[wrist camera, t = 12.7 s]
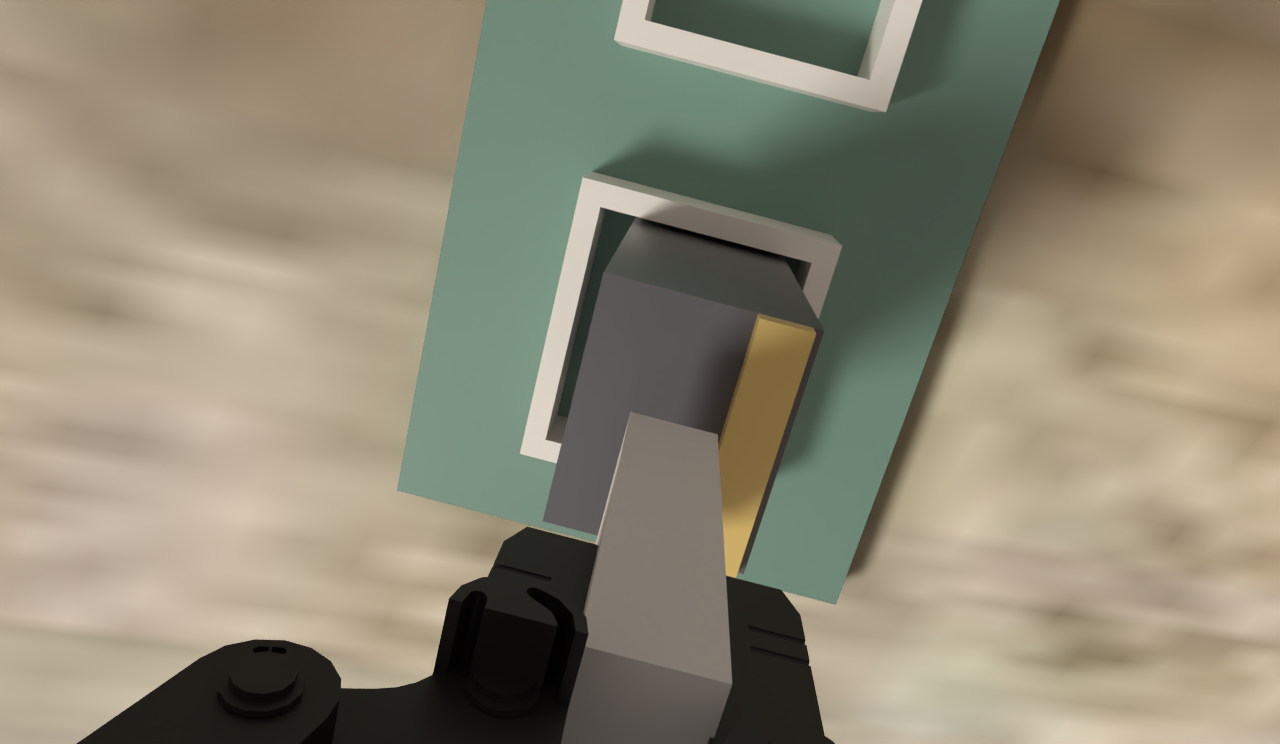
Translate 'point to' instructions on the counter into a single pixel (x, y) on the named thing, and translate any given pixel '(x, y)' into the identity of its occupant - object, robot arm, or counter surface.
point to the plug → (689, 370)
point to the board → (714, 224)
